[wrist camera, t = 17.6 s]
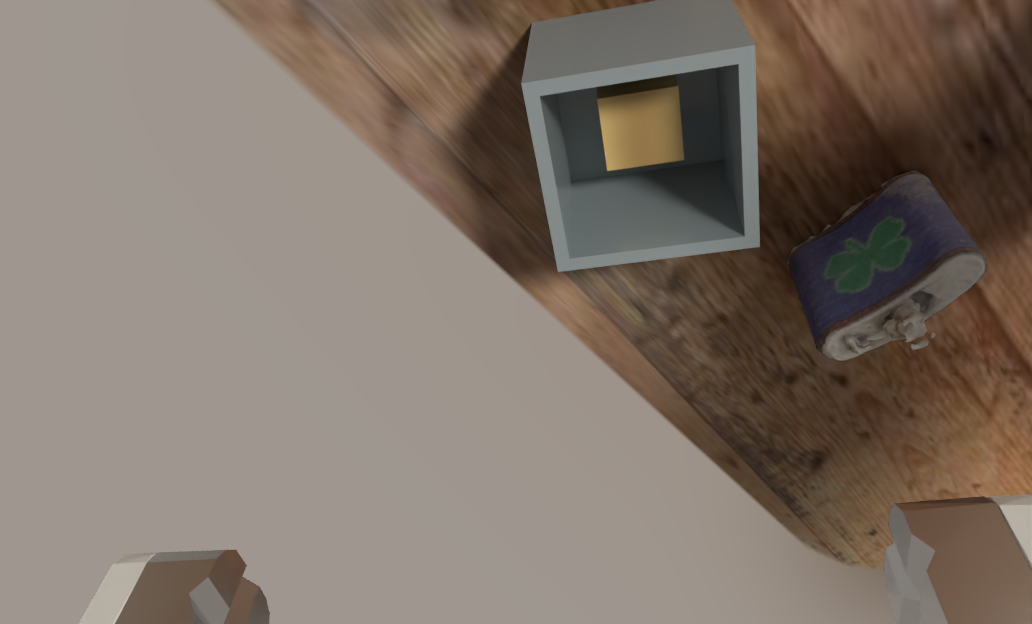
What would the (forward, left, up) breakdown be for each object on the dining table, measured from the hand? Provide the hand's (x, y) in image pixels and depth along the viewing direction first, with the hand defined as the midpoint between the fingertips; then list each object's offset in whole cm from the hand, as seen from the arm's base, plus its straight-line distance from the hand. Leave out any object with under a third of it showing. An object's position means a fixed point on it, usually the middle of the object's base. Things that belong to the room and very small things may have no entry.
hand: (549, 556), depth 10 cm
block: (-2, +9, -37) cm, 38 cm away
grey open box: (-2, +9, -37) cm, 38 cm away
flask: (-14, +19, -37) cm, 44 cm away
